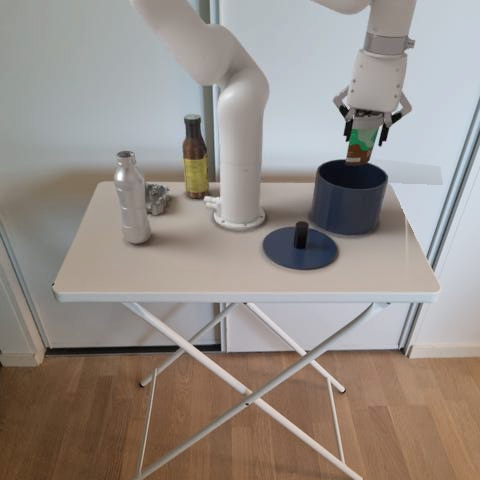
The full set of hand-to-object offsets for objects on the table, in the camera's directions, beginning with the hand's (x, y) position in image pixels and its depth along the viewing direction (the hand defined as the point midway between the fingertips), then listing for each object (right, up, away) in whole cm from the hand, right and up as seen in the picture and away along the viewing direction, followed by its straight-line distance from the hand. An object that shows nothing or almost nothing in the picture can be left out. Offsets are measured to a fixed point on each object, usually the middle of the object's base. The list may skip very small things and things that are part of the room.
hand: (364, 141), depth 97 cm
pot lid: (-13, -21, +7) cm, 26 cm away
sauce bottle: (-38, -4, +26) cm, 46 cm away
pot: (0, -13, +18) cm, 22 cm away
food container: (0, -3, +2) cm, 4 cm away
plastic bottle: (-50, -19, +9) cm, 54 cm away
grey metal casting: (-49, -8, +21) cm, 54 cm away
